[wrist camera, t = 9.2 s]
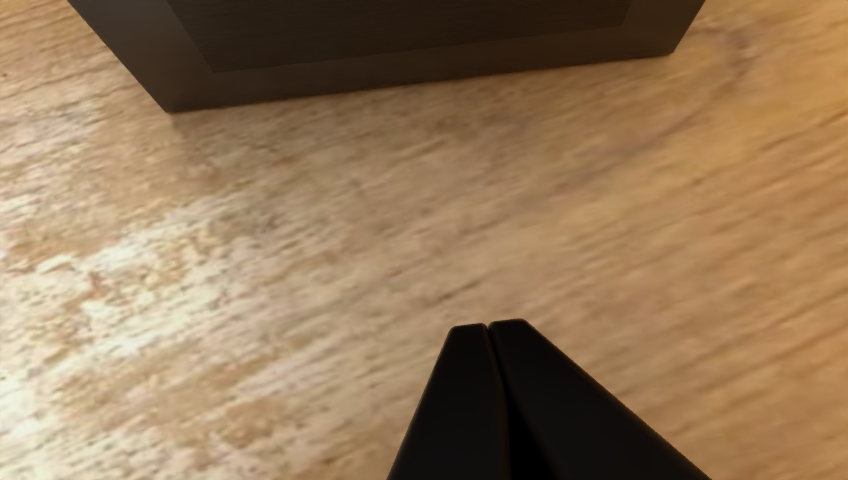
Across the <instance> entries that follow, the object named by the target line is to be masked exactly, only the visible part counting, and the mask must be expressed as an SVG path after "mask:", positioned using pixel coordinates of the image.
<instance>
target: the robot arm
mask: <svg viewBox="0 0 848 480" xmlns="http://www.w3.org/2000/svg"><path fill="white" fill-rule="evenodd" d="M386 480H712V479H710V478H709V477H708V476H707V475H706V474H705V473H703V472H702V471H701V470H700V469H699V468H698V467H696V466H695V465H694V464H693V463H692V462H691V461H689V460H688V459H687V458H686V457H685V456H684V455H682V454H681V453H680V452H679V451H678V450H677V449H675V448H674V447H673V446H672V445H671V444H670V443H668V442H667V441H666V440H665V439H664V438H662V437H661V436H660V435H659V434H658V433H657V432H655V431H654V430H653V429H652V428H651V427H650V426H648V425H647V424H646V423H645V422H644V421H643V420H641V419H640V418H639V417H638V416H637V415H636V414H634V413H633V412H632V411H631V410H630V409H629V408H627V407H626V406H625V405H624V404H623V403H622V402H620V401H619V400H618V399H617V398H616V397H615V396H613V395H612V394H611V393H610V392H609V391H608V390H606V389H605V388H604V387H603V386H602V385H601V384H599V383H598V382H597V381H596V380H595V379H594V378H592V377H591V376H590V375H589V374H588V373H587V372H585V371H584V370H583V369H582V368H581V367H580V366H578V365H577V364H576V363H575V362H574V361H573V360H571V359H570V358H569V357H568V356H567V355H565V354H564V353H563V352H562V351H561V350H560V349H558V348H557V347H556V346H555V345H554V344H553V343H551V342H550V341H549V340H548V339H547V338H546V337H544V336H543V335H542V334H541V333H540V332H539V331H537V330H536V329H535V328H534V327H533V326H532V325H530V324H529V323H528V322H527V321H526V320H523V319H519V318H518V319H510V320H501V321H494V322H491V323H490V324H489V326H488V328H487V326H486V325H485V324H483V323H477V324H468V325H460V326H454V327H452V328H451V329H450V331H449V333H448V335H447V337H446V340H445V342H444V345H443V347H442V349H441V352H440V354H439V356H438V359H437V361H436V363H435V366H434V368H433V371H432V373H431V375H430V378H429V380H428V382H427V385H426V387H425V389H424V392H423V394H422V397H421V399H420V401H419V404H418V406H417V408H416V411H415V413H414V416H413V418H412V420H411V423H410V425H409V427H408V430H407V432H406V434H405V437H404V439H403V442H402V444H401V446H400V449H399V451H398V453H397V456H396V458H395V461H394V463H393V465H392V468H391V470H390V472H389V475H388V477H387V479H386Z"/></svg>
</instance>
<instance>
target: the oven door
mask: <svg viewBox="0 0 848 480" xmlns="http://www.w3.org/2000/svg"><path fill="white" fill-rule="evenodd" d="M67 1H68V2H69V3H70V4H71V5H72V7H73V8H74V9H75V10H76V11H77V12H78V13H79V15H80V16H81V17H82V18H83V19H84V20H85V21H86V23H87V24H88V25H89V26H90V27H91V28H92V29H93V31H94V32H95V33H96V34H97V35H98V36H99V37H100V39H101V40H102V41H103V42H104V43H105V44H106V45H107V46H108V48H109V49H110V50H111V51H112V52H113V53H114V54H115V56H116V57H117V58H118V59H119V60H120V61H121V62H122V64H123V65H124V66H125V67H126V68H127V69H128V70H129V72H130V73H131V74H132V75H133V76H134V77H135V78H136V79H137V81H138V82H139V83H140V84H141V85H142V86H143V87H144V89H145V90H146V91H147V92H148V93H149V94H150V95H151V97H152V98H153V99H154V100H155V101H156V102H157V103H158V105H159V106H160V107H161V108H162V109H163V110H164V111H165V112H166V113H169V112H177V111H186V110H194V109H203V108H211V107H220V106H228V105H237V104H245V103H254V102H262V101H271V100H279V99H288V98H296V97H305V96H313V95H322V94H330V93H339V92H347V91H356V90H364V89H373V88H381V87H390V86H398V85H407V84H415V83H424V82H432V81H441V80H449V79H458V78H466V77H475V76H483V75H492V74H500V73H509V72H517V71H526V70H534V69H543V68H551V67H560V66H568V65H577V64H585V63H594V62H602V61H611V60H619V59H628V58H636V57H645V56H653V55H662V54H670V53H673V52H674V51H675V49H676V47H677V46H678V44H679V43H680V41H681V39H682V38H683V36H684V34H685V33H686V31H687V30H688V28H689V26H690V25H691V23H692V21H693V20H694V18H695V17H696V15H697V13H698V12H699V10H700V8H701V7H702V5H703V4H704V2H705V0H67Z"/></svg>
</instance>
